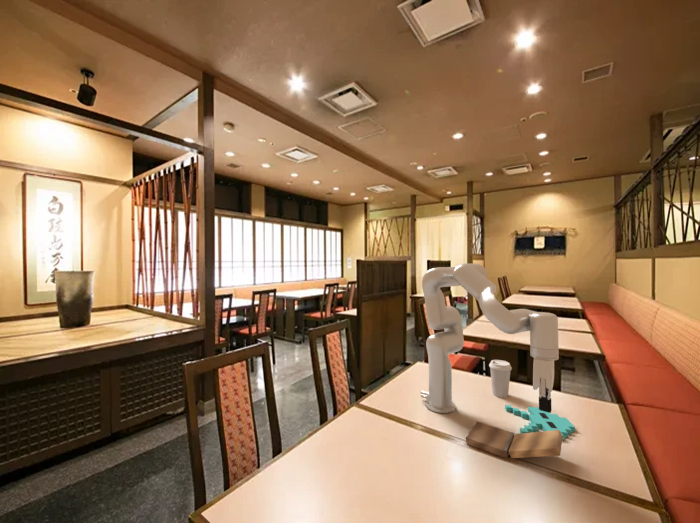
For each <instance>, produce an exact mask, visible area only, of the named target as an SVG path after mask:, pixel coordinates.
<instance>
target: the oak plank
mask: <svg viewBox="0 0 700 523" xmlns="http://www.w3.org/2000/svg"><path fill="white" fill-rule="evenodd" d="M562 437H563V436H562V434H561V432H560V430H552V431H543V430H541V431H533V432H531V433H521V434H520V433H515V436H514V439H513V441H512V444H511V446H510V449H509V451H508V452H509V456H510V458H511V459H519V458H520V459H522V458H536V457H537V458H539V457H557V456H558V457H559V456H561V451H562V444H563V440H562Z"/></svg>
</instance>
